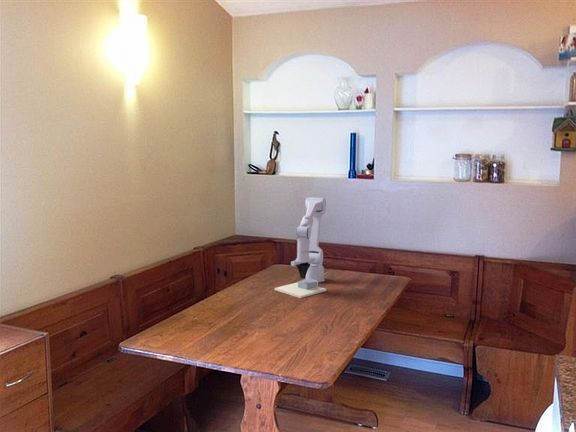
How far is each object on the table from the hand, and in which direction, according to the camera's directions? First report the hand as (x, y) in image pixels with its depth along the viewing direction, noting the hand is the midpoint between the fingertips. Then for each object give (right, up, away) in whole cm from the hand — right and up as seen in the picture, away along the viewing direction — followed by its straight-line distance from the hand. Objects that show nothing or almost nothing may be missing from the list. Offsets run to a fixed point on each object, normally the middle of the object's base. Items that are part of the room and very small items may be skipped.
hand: (302, 277), depth 257 cm
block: (0, -4, +1) cm, 4 cm away
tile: (-1, -6, +1) cm, 6 cm away
